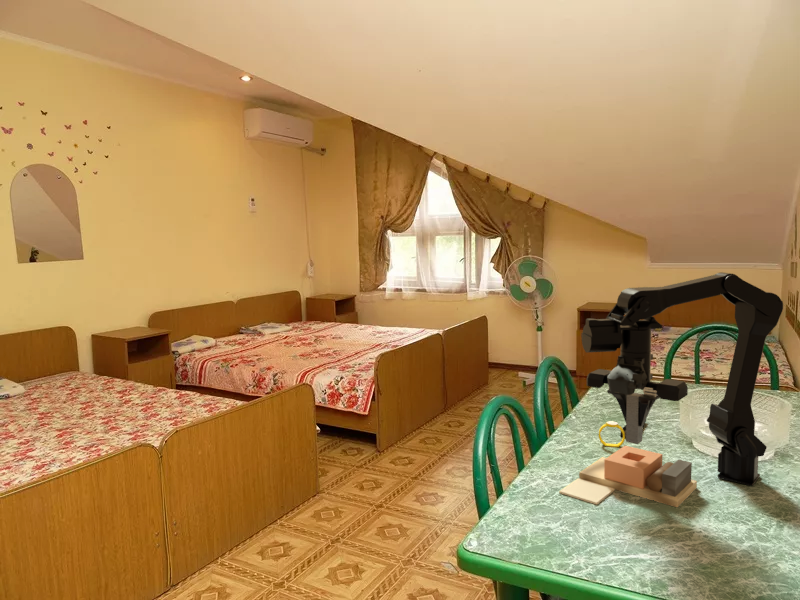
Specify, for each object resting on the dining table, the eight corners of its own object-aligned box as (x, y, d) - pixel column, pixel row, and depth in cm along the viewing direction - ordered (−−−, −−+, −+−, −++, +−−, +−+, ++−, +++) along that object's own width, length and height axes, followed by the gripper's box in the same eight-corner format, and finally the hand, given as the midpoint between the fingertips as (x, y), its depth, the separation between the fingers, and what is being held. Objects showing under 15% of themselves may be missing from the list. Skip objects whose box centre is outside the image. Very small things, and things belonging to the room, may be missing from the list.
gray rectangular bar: (642, 440, 121) (643, 394, 120) (637, 444, 119) (638, 396, 118) (630, 438, 123) (631, 392, 121) (625, 441, 121) (626, 394, 120)
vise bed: (696, 487, 119) (697, 461, 118) (677, 507, 111) (677, 479, 110) (602, 463, 132) (602, 439, 132) (579, 479, 125) (579, 454, 124)
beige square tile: (614, 490, 119) (614, 488, 119) (596, 504, 113) (596, 502, 113) (578, 479, 124) (578, 478, 124) (559, 492, 119) (559, 490, 118)
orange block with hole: (662, 472, 123) (662, 454, 122) (643, 488, 116) (643, 469, 115) (624, 463, 128) (624, 445, 128) (604, 477, 121) (604, 459, 121)
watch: (623, 446, 143) (625, 422, 142) (624, 450, 140) (626, 426, 140) (598, 442, 145) (600, 419, 144) (597, 446, 142) (599, 422, 142)
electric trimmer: (649, 424, 158) (649, 412, 158) (634, 441, 146) (634, 428, 146) (635, 422, 161) (635, 410, 160) (618, 438, 148) (619, 426, 148)
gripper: (574, 351, 119) (573, 425, 121) (668, 364, 106) (666, 446, 108) (598, 342, 127) (598, 412, 129) (689, 353, 114) (687, 430, 116)
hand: (634, 424), depth 120 cm, fingers closed on gray rectangular bar, 2 cm apart
